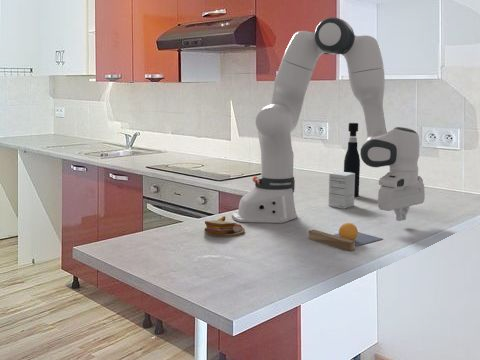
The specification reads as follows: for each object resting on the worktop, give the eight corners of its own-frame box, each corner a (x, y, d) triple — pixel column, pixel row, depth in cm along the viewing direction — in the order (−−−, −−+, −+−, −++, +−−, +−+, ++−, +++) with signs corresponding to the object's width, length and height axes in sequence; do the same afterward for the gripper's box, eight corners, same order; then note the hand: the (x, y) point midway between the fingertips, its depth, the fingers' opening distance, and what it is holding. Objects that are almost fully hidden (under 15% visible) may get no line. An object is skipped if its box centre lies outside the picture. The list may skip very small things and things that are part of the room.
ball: (348, 218, 161) (359, 222, 164) (333, 225, 164) (344, 229, 168) (352, 235, 158) (363, 239, 162) (336, 242, 161) (348, 246, 165)
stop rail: (349, 251, 154) (350, 242, 153) (308, 238, 166) (308, 230, 166) (354, 249, 155) (354, 241, 154) (313, 237, 167) (313, 229, 167)
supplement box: (337, 203, 216) (338, 170, 214) (354, 205, 211) (355, 172, 209) (327, 206, 210) (328, 173, 208) (345, 208, 206) (346, 175, 204)
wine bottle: (356, 194, 233) (359, 122, 228) (360, 197, 227) (363, 123, 222) (341, 194, 233) (343, 122, 228) (344, 197, 227) (347, 123, 222)
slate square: (356, 246, 158) (356, 245, 158) (325, 237, 168) (325, 236, 168) (382, 239, 166) (382, 238, 166) (351, 230, 175) (351, 230, 175)
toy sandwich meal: (253, 233, 173) (253, 218, 172) (220, 241, 164) (220, 226, 163) (227, 226, 182) (227, 211, 181) (194, 233, 173) (194, 218, 172)
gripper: (414, 173, 187) (411, 214, 189) (375, 180, 174) (373, 222, 177) (430, 176, 182) (428, 217, 184) (391, 183, 169) (389, 227, 172)
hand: (401, 220), depth 180 cm, fingers closed
